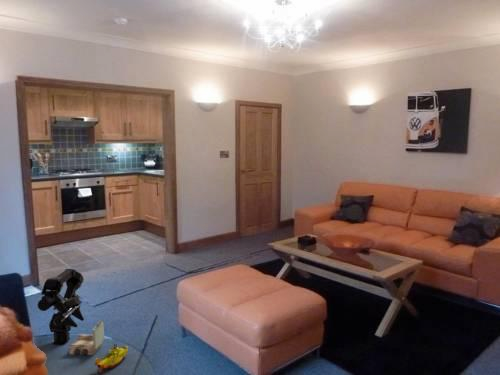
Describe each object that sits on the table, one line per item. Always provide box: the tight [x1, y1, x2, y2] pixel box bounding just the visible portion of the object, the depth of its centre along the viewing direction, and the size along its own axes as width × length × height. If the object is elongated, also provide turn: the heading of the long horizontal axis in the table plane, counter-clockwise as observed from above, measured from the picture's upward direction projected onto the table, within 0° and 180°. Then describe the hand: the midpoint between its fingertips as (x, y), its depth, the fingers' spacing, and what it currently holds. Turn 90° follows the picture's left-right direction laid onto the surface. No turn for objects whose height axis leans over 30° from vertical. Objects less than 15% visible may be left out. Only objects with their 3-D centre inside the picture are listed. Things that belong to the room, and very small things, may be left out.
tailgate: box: [92, 318, 105, 349], centre depth 198 cm, size 2×10×12 cm, turn 177°
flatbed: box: [68, 333, 103, 356], centre depth 199 cm, size 12×11×5 cm
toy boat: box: [94, 343, 129, 374], centre depth 186 cm, size 6×18×10 cm, turn 152°
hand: (80, 323), depth 198 cm, fingers open, 7 cm apart
